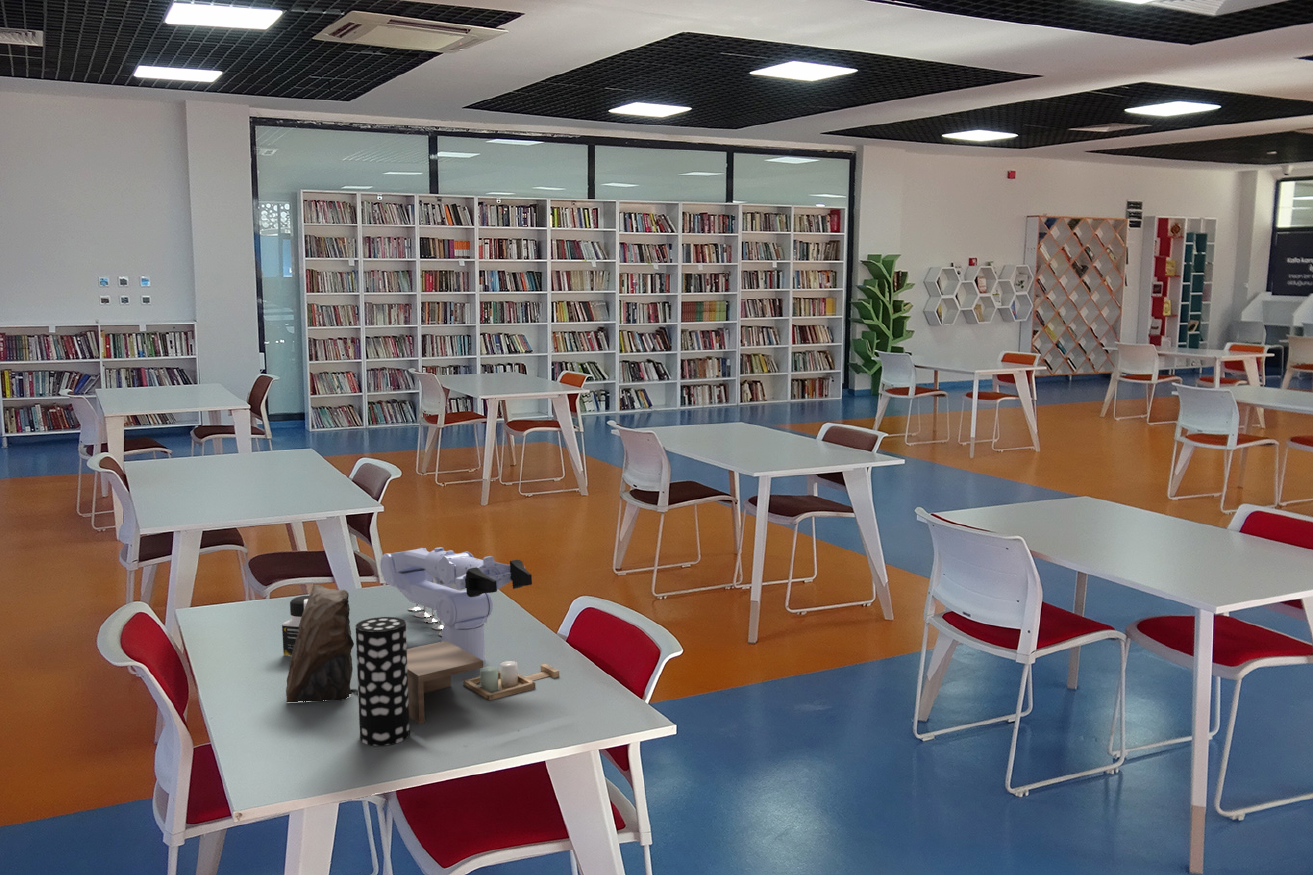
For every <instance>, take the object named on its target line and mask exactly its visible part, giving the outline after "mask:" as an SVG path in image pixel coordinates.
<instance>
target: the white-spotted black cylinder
mask: <svg viewBox="0 0 1313 875" xmlns="http://www.w3.org/2000/svg"><path fill="white" fill-rule="evenodd" d="M407 644H408V642H407V622H406V619H402V618H400V617H397V616H396V617H395V616H378V617H373V618H368V619H363V620H361V621H359V622H357V623H356V624H355V646H356V647H355V648H356V649H355V650H356V668H357V669H356V672H357V676H356V677H357V697H358V720H359V721H358V724H359V739H360V742H362V743H363V744H364V745H368V746H372V747H373V746H374V747H375V746H378V747H383V746H391V745H396V744H399V743H401V742H403V741H404V740H406V739H407V738H408V737H409V736H410V717H409V702H408V673H407V649H408V648H407V647H408V645H407Z"/></svg>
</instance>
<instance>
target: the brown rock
mask: <svg viewBox="0 0 1313 875" xmlns="http://www.w3.org/2000/svg"><path fill="white" fill-rule="evenodd" d="M349 594H350V593H349V592H348V591H347V590H345V589H340V590H339V589H336V588H328V587H325V586H324V585H322V584H317V583H316V584H313V585H312V588H311V591H310V594H309V595H308V596H309V598H308V601H307V604H306V607H305V609H304V611H303V614H302V617H301V620H300V624H299V630H298V634H297V638H296V642H295V645H294V648H293V651H292V656H290V661H289V668H288V674H287V677H286V688H285V695H286V702H298V701H303V702H304V701H305V702H306V701H323V700H324V701H323V702H326V701H325V700H338V701H343V700H342V699H344V700H347V699H346V698H347V697H349V694H352V695H353V690H352V689H351V681H352V680H351V679H352V674H353V668H354V667H353V658H352V649H353V648H354V645H355V642H354V639H353V638H352V636H351V635H352V631H351V625H350V622H351V620H350V618H349V617H350V610H351V609H350V605H349Z"/></svg>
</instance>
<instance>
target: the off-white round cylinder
mask: <svg viewBox="0 0 1313 875" xmlns="http://www.w3.org/2000/svg"><path fill="white" fill-rule="evenodd" d="M518 667H519V665H518V662H517V661H514V660H505V661H503V662H501V663H500V664H499V671H500V679H501V686H503V687H513V686H516V685H518V674H519V668H518Z"/></svg>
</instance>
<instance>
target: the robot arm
mask: <svg viewBox="0 0 1313 875" xmlns="http://www.w3.org/2000/svg"><path fill="white" fill-rule="evenodd" d="M379 565H380V566H379V567H380V572H381V575H382V577H383V580H384V582H385V585H388V586H391V587H395V588H396V589H397V590H398V592H400V593H401V594H402V595H403V596H404V597H405V598H406V599H407V600H408V601H409V602H411V603H414V604H418V606H423V607H424V606H425V607H426V608H428V609H431V610H432V609H433V611H434V610H435V611H436V613H435V614H436V617H437V619H441V622H442V624H443V625H444V627H443V629H442V630H441V632H442V636H441V642H442V641H448V642H450V643H452V644H454V645H456V646H457V647H459V648H461V649H463V650H465V651H467V652H468V653H470V654H472V655H474V656H476V657H477V658H479V659H481V660H483V663H485V662H486V657H485V655H486V652H485V651H486V650H485V624H487V623H488V618H490V616H491V615H492V612H493V609H494V608H493V606H494V604H493V598H492V595H491V594H493V593H497V592H498V590H500V589H501V588H502V587H504V586H506V585H507V584H509V583H510V582H512V589H513V590H515V589H520V588H522V587H525V586H527V587H528V586H531V585H532V584H533V578H532V577H533V575H532V573H530V572H529V571H528V570H527V569H526V566H524V564H523V561H522V560H521V559H512V560H509V564H506V563H503V562H502V563H501V562H497V561H495V558H494V556H492V555H489V556H484V557H483V559H481V558H477V557H474V555H473V554H472V553H471V552H469V551H467V550H466V551H463V552H459V553H456V552H454V550H451V549H449V550H444V547H441V546H440V547H435V548H434V549H433V550H431V551H428V550H427V548H426V547H418V548H417V549H415V548H414V549H409V550H404V551H399V552H392V553H390V552H389V553H388V552H387V553H384V554H382V556H381V559H380V564H379ZM433 576H435V577H439V578H441V580H442V581H443V582H444V584H445V585H447V584H450V583H454V582H456V588H458V589H462V590H463V591H459V590H456V589H452V588H449V587H446V586H442V585H439V584H436V583H432V581H433ZM464 589H466V590H464Z"/></svg>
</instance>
